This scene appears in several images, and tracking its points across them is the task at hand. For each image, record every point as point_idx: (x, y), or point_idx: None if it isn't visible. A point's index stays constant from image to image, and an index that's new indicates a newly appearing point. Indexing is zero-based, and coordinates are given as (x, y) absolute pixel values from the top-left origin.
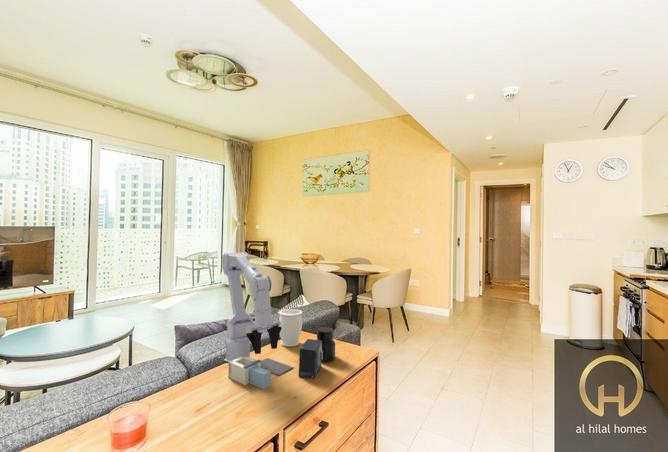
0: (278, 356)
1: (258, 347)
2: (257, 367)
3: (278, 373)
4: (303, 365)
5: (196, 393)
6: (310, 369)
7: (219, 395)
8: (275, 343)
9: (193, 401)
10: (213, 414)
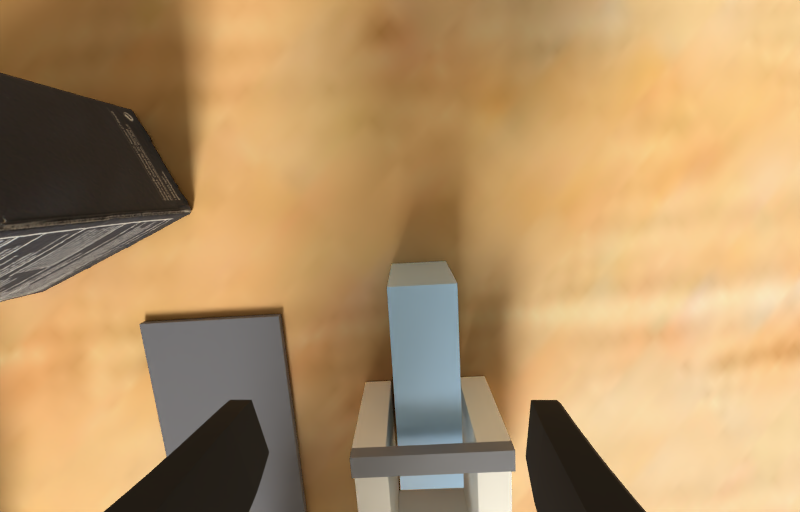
0: None
1: (615, 479)
2: (409, 409)
3: (264, 331)
4: (112, 178)
5: (696, 487)
6: (98, 124)
7: (642, 388)
8: (211, 459)
9: (756, 434)
10: (785, 257)
